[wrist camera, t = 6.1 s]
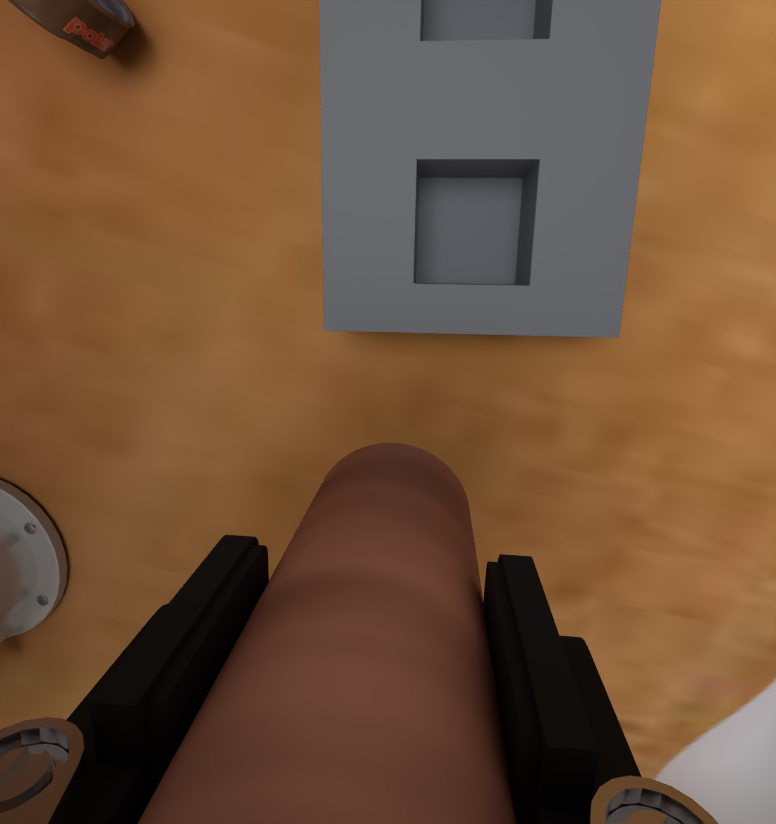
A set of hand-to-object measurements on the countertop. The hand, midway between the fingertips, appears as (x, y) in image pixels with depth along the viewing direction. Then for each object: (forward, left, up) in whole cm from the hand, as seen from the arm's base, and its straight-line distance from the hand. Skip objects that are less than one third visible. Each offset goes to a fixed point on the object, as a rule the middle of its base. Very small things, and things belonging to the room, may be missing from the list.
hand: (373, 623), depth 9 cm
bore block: (+13, -3, -23) cm, 27 cm away
